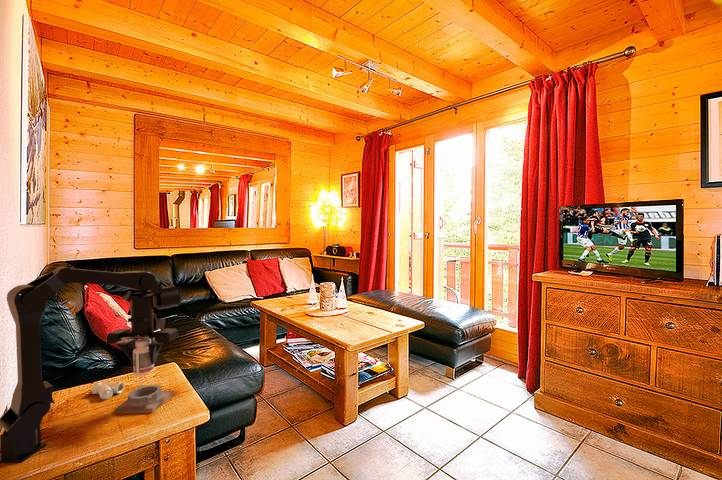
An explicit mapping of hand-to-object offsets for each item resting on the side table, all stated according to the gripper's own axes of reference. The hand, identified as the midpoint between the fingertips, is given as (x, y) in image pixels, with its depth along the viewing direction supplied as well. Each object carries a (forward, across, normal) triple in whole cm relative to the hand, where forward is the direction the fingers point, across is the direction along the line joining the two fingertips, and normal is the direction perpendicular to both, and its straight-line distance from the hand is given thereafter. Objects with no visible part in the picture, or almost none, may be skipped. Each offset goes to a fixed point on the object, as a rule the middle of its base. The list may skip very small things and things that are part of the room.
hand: (143, 363), depth 104 cm
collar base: (+12, 0, 0) cm, 12 cm away
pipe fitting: (+13, +16, -6) cm, 21 cm away
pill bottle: (+3, 0, 0) cm, 3 cm away
